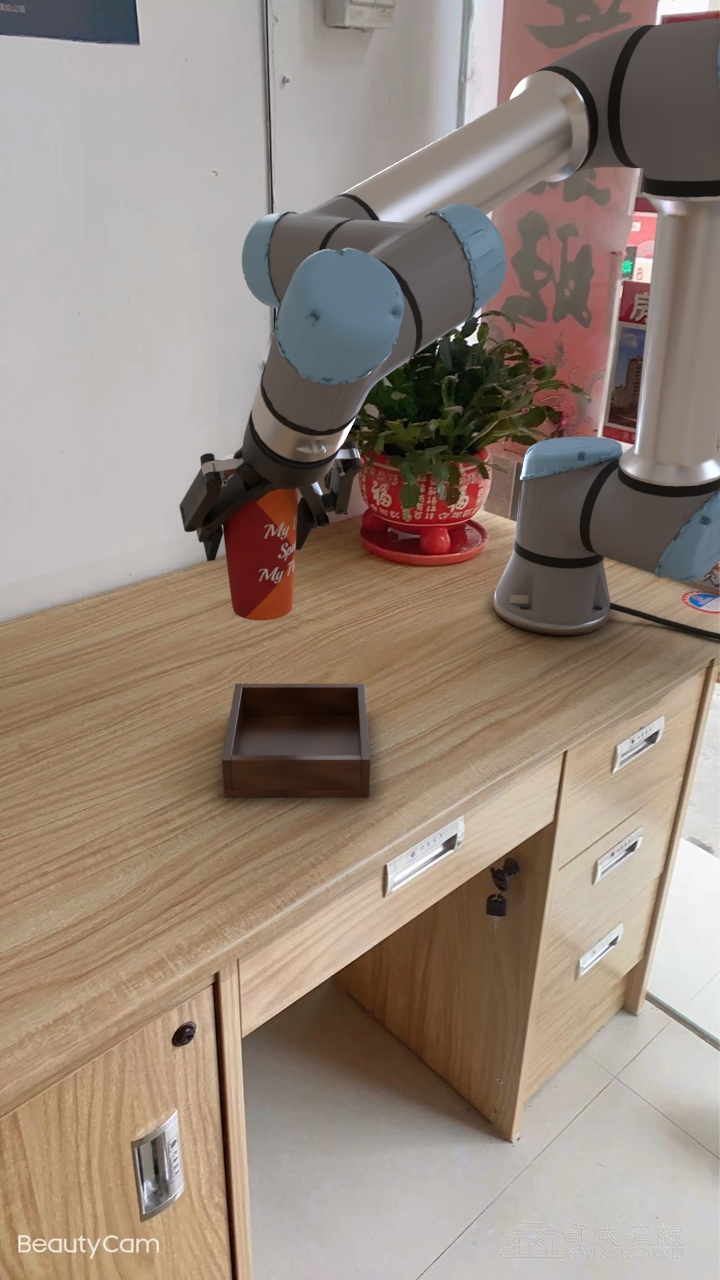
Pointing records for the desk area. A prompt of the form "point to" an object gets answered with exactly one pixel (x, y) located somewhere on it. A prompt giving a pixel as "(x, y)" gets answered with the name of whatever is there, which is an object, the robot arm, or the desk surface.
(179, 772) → the desk surface
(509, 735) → the desk surface
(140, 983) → the desk surface
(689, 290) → the robot arm
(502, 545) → the desk surface
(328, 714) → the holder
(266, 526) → the coffee cup
